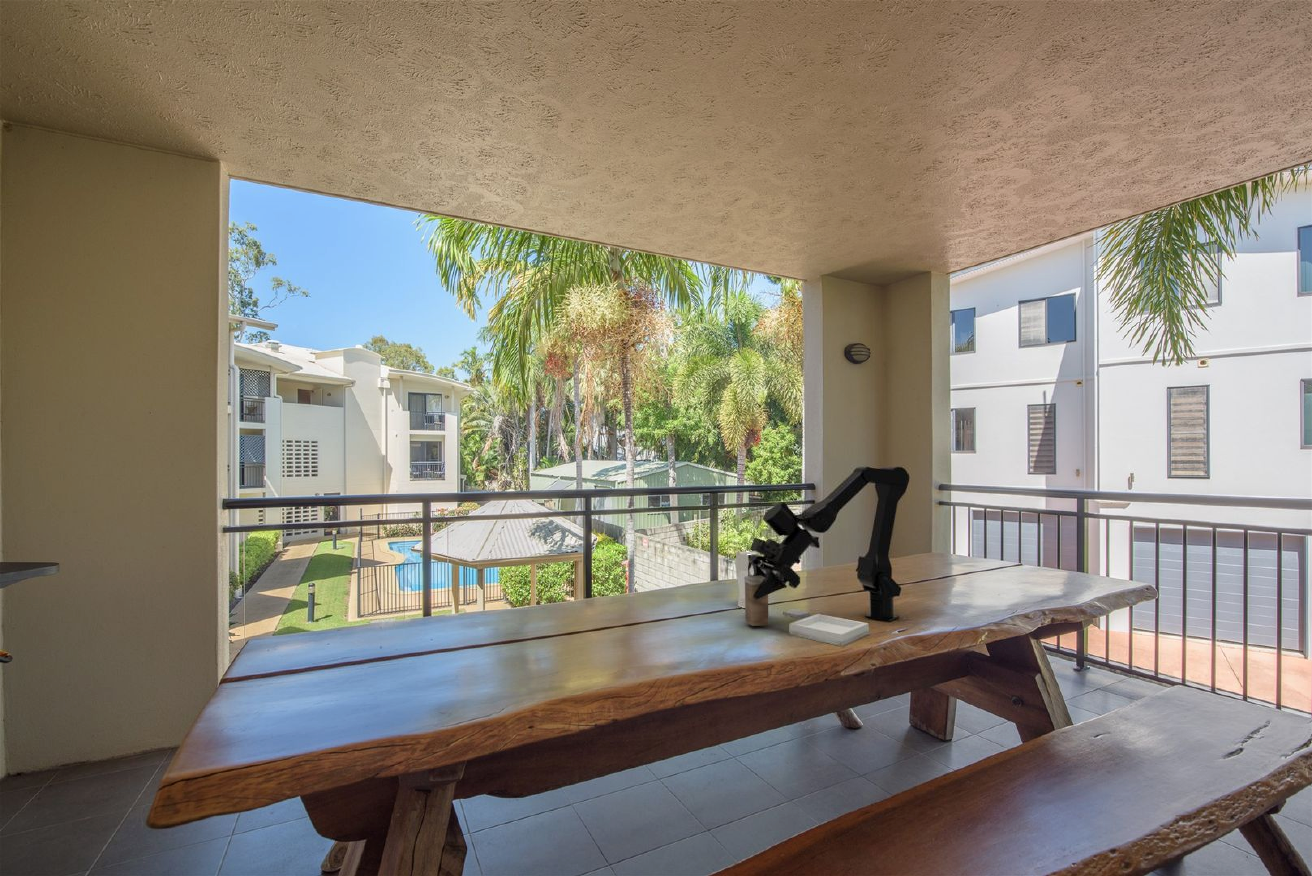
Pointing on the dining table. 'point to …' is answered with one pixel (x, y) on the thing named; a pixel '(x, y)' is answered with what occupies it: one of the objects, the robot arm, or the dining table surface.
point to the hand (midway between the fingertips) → (751, 596)
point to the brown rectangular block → (755, 602)
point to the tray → (829, 629)
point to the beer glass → (743, 572)
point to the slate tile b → (796, 613)
